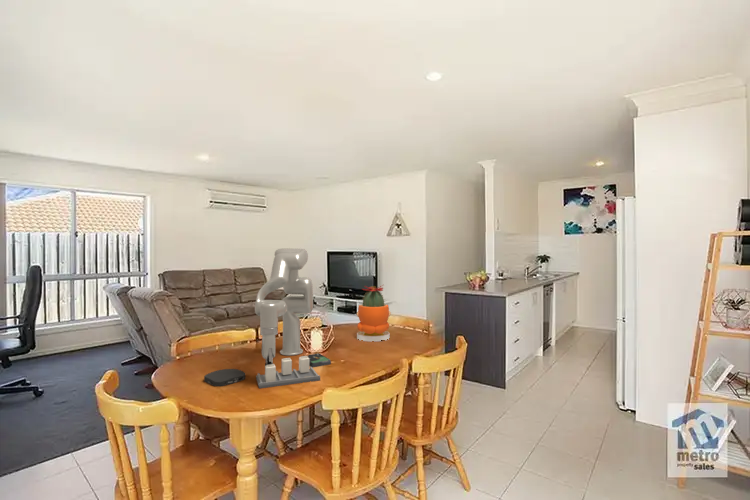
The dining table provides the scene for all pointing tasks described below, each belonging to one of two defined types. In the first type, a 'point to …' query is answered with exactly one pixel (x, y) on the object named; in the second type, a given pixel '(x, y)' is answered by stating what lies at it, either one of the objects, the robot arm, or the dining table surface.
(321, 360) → the disk drive
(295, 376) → the grey divided tray
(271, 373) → the tab
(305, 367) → the tab
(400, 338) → the dining table surface
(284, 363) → the tab
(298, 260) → the robot arm
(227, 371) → the media streaming box
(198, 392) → the dining table surface
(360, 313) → the potted cactus
